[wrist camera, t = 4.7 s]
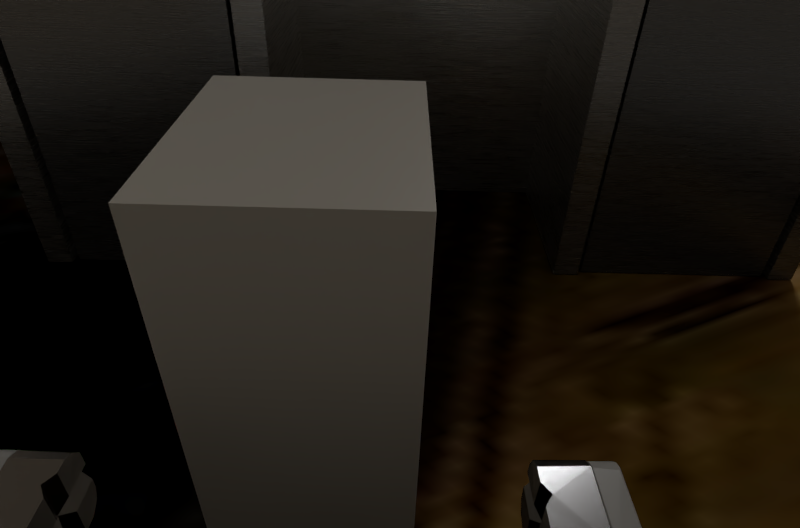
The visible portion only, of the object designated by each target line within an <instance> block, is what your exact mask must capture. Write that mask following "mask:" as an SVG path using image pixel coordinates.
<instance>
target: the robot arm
mask: <svg viewBox="0 0 800 528" xmlns="http://www.w3.org/2000/svg"><path fill="white" fill-rule="evenodd" d="M84 466H85V462H84V460H83V458H82V456H81V454H80V453H79V452H52V451H22V450H0V528H89V526H90V523H91V521H92V519H93V516H94V512H95V507H96V502H97V493H96V486H95V484H94V481H93V479H92V478H90V477H89V476H87V475H86V474H84V473H83V472H82V470H83V468H84ZM528 477H529V482H530V483H528V484H527V485H526V486H524V488H523V493H522V498H521V518H522V527H523V528H642V527H641V524H640V521H639V519H638V516H637V513H636V510H635V507H634V505H633V502H632V499H631V496H630V494H629V491H628V488H627V485H626V482H625V480H624V477H623V474H622V471H621V469H620V467H619V466H618V464H617V463H616V462H613V461H585V460H533V461H532V462H531V463H530V465H529V468H528Z"/></svg>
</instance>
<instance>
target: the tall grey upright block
mask: <svg viewBox="0 0 800 528" xmlns="http://www.w3.org/2000/svg"><path fill="white" fill-rule="evenodd" d="M108 204H109V207H110V211H111V214H112V217H113V220H114V224H115V227H116V230H117V234H118V237H119V240H120V244H121V247H122V250H123V253H124V257H125V260H126V263H127V267H128V270H129V273H130V276H131V280H132V283H133V286H134V290H135V293H136V296H137V299H138V303H139V306H140V309H141V313H142V316H143V319H144V322H145V326H146V329H147V332H148V336H149V339H150V342H151V345H152V349H153V352H154V355H155V359H156V362H157V365H158V369H159V372H160V375H161V378H162V382H163V385H164V388H165V392H166V395H167V398H168V401H169V405H170V408H171V411H172V415H173V418H174V421H175V424H176V428H177V431H178V434H179V438H180V441H181V444H182V447H183V451H184V454H185V457H186V461H187V464H188V467H189V471H190V474H191V477H192V480H193V484H194V487H195V490H196V494H197V497H198V500H199V503H200V507H201V510H202V513H203V517H204V520H205V523H206V526H207V528H414V524H415V510H416V496H417V482H418V468H419V454H420V440H421V426H422V412H423V398H424V384H425V370H426V356H427V342H428V327H429V313H430V299H431V285H432V271H433V257H434V243H435V229H436V215H437V208H436V196H435V184H434V172H433V160H432V148H431V136H430V124H429V112H428V100H427V88H426V81H401V80H365V79H329V78H292V77H256V76H220V75H213V76H212V77H211V79H210V80H209V81H208V82H207V83H206V85H205V86H204V87H203V88H202V90H201V91H200V92H199V93H198V94H197V96H196V97H195V98H194V99H193V100H192V102H191V103H190V104H189V105H188V107H187V108H186V109H185V110H184V111H183V113H182V114H181V115H180V116H179V118H178V119H177V120H176V121H175V122H174V124H173V125H172V126H171V127H170V129H169V130H168V131H167V132H166V133H165V135H164V136H163V137H162V138H161V139H160V141H159V142H158V143H157V144H156V146H155V147H154V148H153V149H152V150H151V152H150V153H149V154H148V155H147V157H146V158H145V159H144V160H143V161H142V163H141V164H140V165H139V166H138V168H137V169H136V170H135V171H134V172H133V174H132V175H131V176H130V177H129V178H128V180H127V181H126V182H125V183H124V185H123V186H122V187H121V188H120V189H119V191H118V192H117V193H116V194H115V196H114V197H113V198H112V199H111V200H110V202H109V203H108Z"/></svg>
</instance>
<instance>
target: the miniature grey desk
mask: <svg viewBox="0 0 800 528" xmlns="http://www.w3.org/2000/svg"><path fill="white" fill-rule="evenodd" d="M213 75H220V76H256V77H292V78H329V79H365V80H401V81H426V88H427V100H428V112H429V124H430V136H431V148H432V160H433V172H434V184H435V190H450V191H489V192H526V195H527V198H528V201H529V204H530V207H531V210H532V213H533V216H534V219H535V222H536V224H537V227H538V230H539V233H540V236H541V239H542V242H543V245H544V248H545V251H546V254H547V257H548V260H549V263H550V266H551V269H552V271H553V274H577V273H578V269H580V271H581V272H618V273H658V274H699V275H739V276H761V274H762V273H763V274H764V275H765V277H766V278H767V279H787V280H791V279H792V277H793V275H794V273H795V271H796V269H797V267H798V265H799V264H800V0H0V140H1V143H2V145H3V148H4V150H5V153H6V155H7V158H8V160H9V163H10V165H11V168H12V170H13V173H14V175H15V178H16V180H17V183H18V185H19V188H20V190H21V193H22V195H23V198H24V200H25V203H26V205H27V208H28V211H29V213H30V216H31V218H32V221H33V223H34V226H35V228H36V231H37V233H38V236H39V238H40V241H41V243H42V246H43V248H44V251H45V253H46V256H47V258H48V261H59V262H73V261H74V260H75V259H76V257H77V256H78V255H79V258H80V259H93V260H125V257H124V253H123V250H122V247H121V244H120V240H119V237H118V234H117V230H116V227H115V224H114V220H113V217H112V214H111V211H110V207H109V204H108V203H109V202H110V200H111V199H112V198H113V197H114V196H115V194H116V193H117V192H118V191H119V189H120V188H121V187H122V186H123V185H124V183H125V182H126V181H127V180H128V178H129V177H130V176H131V175H132V174H133V172H134V171H135V170H136V169H137V168H138V166H139V165H140V164H141V163H142V161H143V160H144V159H145V158H146V157H147V155H148V154H149V153H150V152H151V150H152V149H153V148H154V147H155V146H156V144H157V143H158V142H159V141H160V139H161V138H162V137H163V136H164V135H165V133H166V132H167V131H168V130H169V129H170V127H171V126H172V125H173V124H174V122H175V121H176V120H177V119H178V118H179V116H180V115H181V114H182V113H183V111H184V110H185V109H186V108H187V107H188V105H189V104H190V103H191V102H192V100H193V99H194V98H195V97H196V96H197V94H198V93H199V92H200V91H201V90H202V88H203V87H204V86H205V85H206V83H207V82H208V81H209V80H210V79H211V77H212V76H213Z"/></svg>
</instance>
